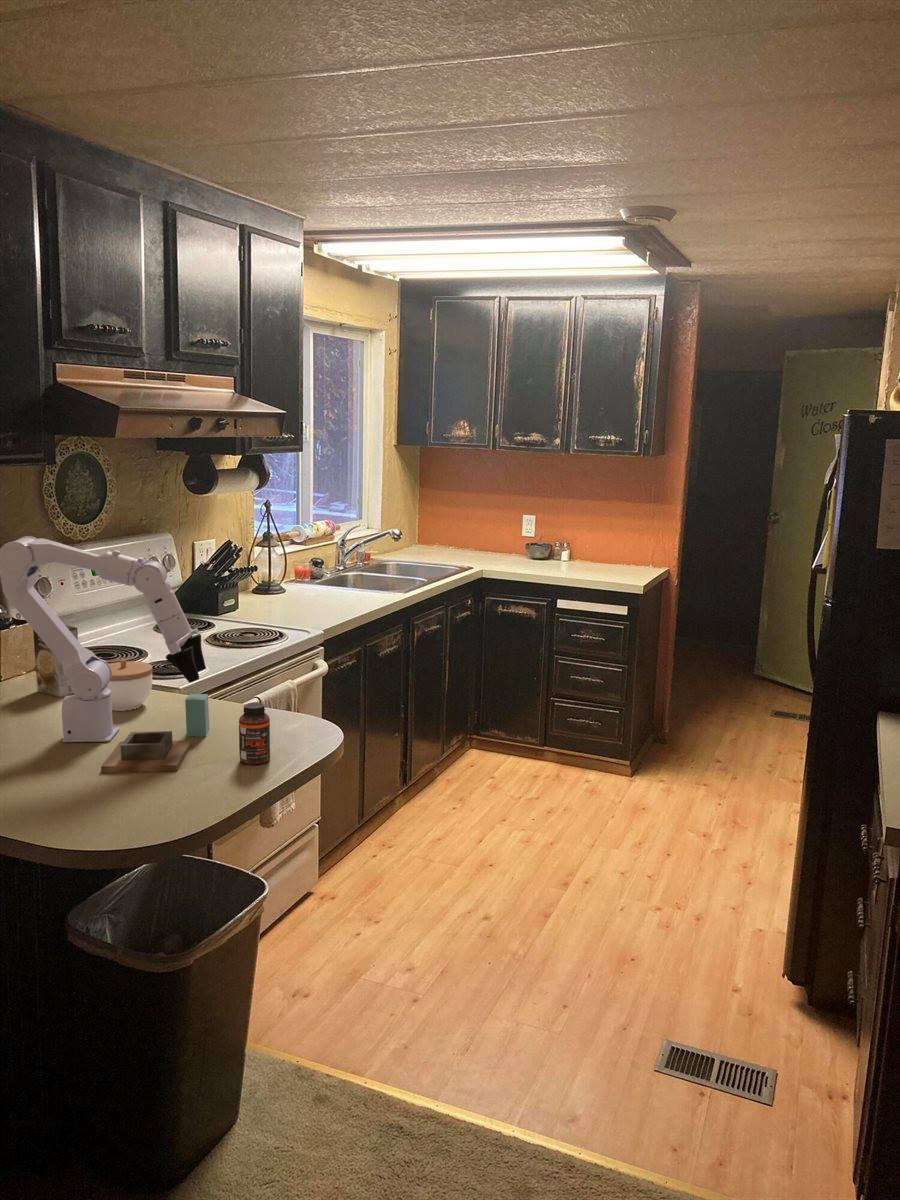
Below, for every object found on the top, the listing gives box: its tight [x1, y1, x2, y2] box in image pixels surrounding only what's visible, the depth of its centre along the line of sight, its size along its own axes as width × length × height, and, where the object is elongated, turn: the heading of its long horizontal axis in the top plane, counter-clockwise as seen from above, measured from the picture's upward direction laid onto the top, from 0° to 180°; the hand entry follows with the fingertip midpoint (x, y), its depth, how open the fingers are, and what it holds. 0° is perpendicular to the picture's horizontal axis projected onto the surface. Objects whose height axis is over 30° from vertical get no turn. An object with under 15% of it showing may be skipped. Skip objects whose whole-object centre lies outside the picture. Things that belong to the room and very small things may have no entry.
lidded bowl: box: [107, 658, 153, 712], centre depth 220 cm, size 13×13×11 cm
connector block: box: [184, 693, 210, 737], centre depth 202 cm, size 4×4×8 cm
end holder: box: [100, 730, 192, 773], centre depth 188 cm, size 14×14×4 cm
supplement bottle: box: [238, 701, 271, 766], centre depth 187 cm, size 6×6×11 cm
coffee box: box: [32, 624, 79, 698], centre depth 231 cm, size 9×6×16 cm
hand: (197, 675), depth 201 cm, fingers open, 7 cm apart
